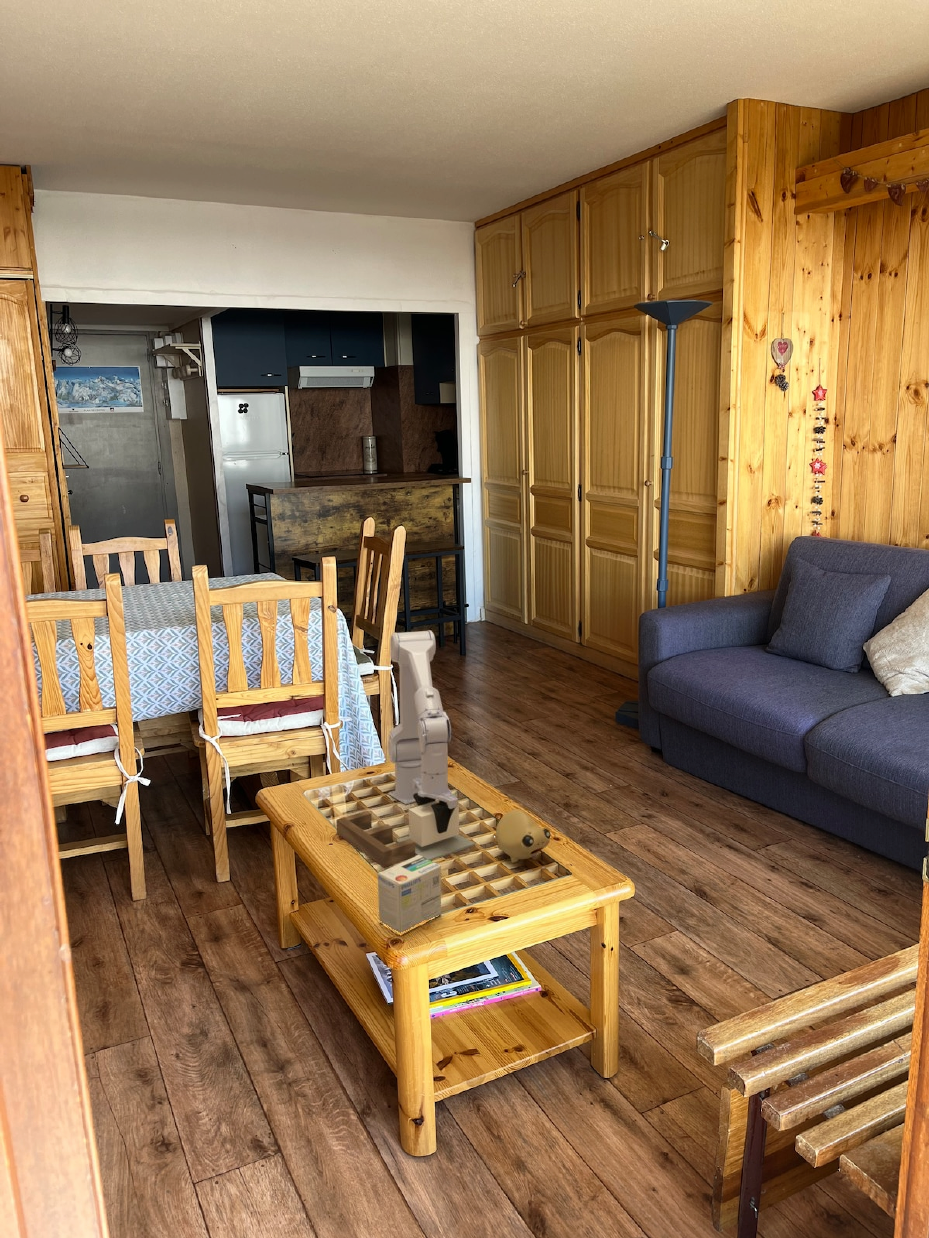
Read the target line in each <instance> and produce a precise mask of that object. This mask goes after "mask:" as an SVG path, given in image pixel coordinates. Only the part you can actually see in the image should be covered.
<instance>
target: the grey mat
mask: <svg viewBox="0 0 929 1238" xmlns="http://www.w3.org/2000/svg"><path fill="white" fill-rule="evenodd" d="M407 839H409V835H406V836H404V837H403V836H402V837H400V838H398V839H395V843H398V842H401V841H404V840H407ZM474 846H476V844H475V842H473V841H471V840H470V839H469V838H466V837H465V836H463V835H461V834H460V833H459V835H456V836H453V837H450V838H447V839H444V840H441V841H438V842H435V843H432V844H429V845H426V846H423V847H421V846H420V845H418V844H417V843H415V856H417V855H420V856H422V857H424V858H426V859H428V860H430V861H432V862H433V861H435V860H437V859H439V858H443V857H447V856H449V855H452V854H455V853H457V852H460V851H463V850H464V851H465V850H467V849H469V848H472V847H474Z"/></svg>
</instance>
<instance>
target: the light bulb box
mask: <svg viewBox="0 0 929 1238" xmlns="http://www.w3.org/2000/svg"><path fill="white" fill-rule="evenodd" d="M377 889H378V890H377V892H378V893H377V894H378V897H377V898H378V918H379V919H378V921H379V920H380V921H382V923H384V924H386V925H388V926H389V927H391V928H392V929H394V930H396V931H398V932H400V933H401V932H403V931H406V930H408V929H410V928H411V927H414V926H415V925H416V924H419V923H421V922H422V921H424V920H429V919H431V918H433V917H436V916H438V915H441V916H442V865H440V864H439V863H436V862H434V861H433V860H432V861H430V860H428V859H426V858H424V857H422V856H420V855H417V856H416V855H415V857H412V858H410V859H408V860H405V861H402V862H399V863H397V864H394V866H393V865H392V866H391V867H388V868H387V869H385V870H382V871H380V872H377Z"/></svg>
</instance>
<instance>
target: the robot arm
mask: <svg viewBox="0 0 929 1238" xmlns="http://www.w3.org/2000/svg"><path fill="white" fill-rule="evenodd" d="M389 641H390V642H389V643H390V659H391V661H392V662H395V663H397V664H398V667H399V716H400V717H399V722H400V723H399V724H398V725H396V726H395V727H393V728H392V729H391V730H390V731H389V734H388V742H387V752H388V756H389V757H388V758H389V760H390V762H391V763H392V764H394V773H395V774H394V775H395V776H394V777H395V782H394V783H395V790H392V791H389V792H388V795H389V796H391V797H392V798H394V799H396V800H398V801H399V802H401V803H403V804H404V805H408V804H412V803H416V804H417V806H420V805H424V804H427V803H430V802H433V801H437V800H439V803H435V804H432V805H431V807H432V809H433V811H434V814H435V818H436V826H437V831H438V833H439V834H440V833H443V832H446V831H447V828H448V824H449V821H450V818H451V815H452V813H453V811H454V809H455V808H456V807H458V805H459V799H458V798H457V797H456V796H455V794H453V791H451V789H450V788H449V785H448V781H449V780H448V775H449V773H448V771H449V770H448V767H449V766H448V765H449V764H448V763H449V761H448V753H449V752H448V748H449V747H448V746H449V745H448V743H449V742H451V738H452V728H451V722H450V719H449V716H448V714H447V712H446V711H444V708H443V705H442V700H441V699H442V698H441V695H440V691H439V690H438V689H437V688H435V687H433V680H432V671H431V663H430V662H432V661H433V660H434V656H435V654H436V648H437V647H436V643H437V642H436V637H435V634H434V632H433V631H432V630H430V629H428V630H423V631H410V632H409V631H406V632H393V633H392V634H391V636H390V640H389Z"/></svg>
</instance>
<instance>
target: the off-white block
mask: <svg viewBox="0 0 929 1238" xmlns="http://www.w3.org/2000/svg"><path fill="white" fill-rule="evenodd" d="M435 803H439V800H437V799H436V801H433V802H430V803H427V804H424V805H420V806H418V805H417V806H414V807H412V808H408V836H409V839H411V840H413V841H414V842H415V843H417V844H418V845H420V846H421V847H423V846H426V845H429V844H432V843H435V842H438V841H441V840H444V839H447V838H450V837H453V836H456V835H459V834H460V805H459V804H458V807H456V808H455V809H454V811H453V813H452V815H451V818H450V821H449V824H448V828H447V831H446V832H443V833H440V834H439V833H438V831H437V826H436V818H435V814H434V811H433V809H432V807H431V805H432V804H435Z"/></svg>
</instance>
